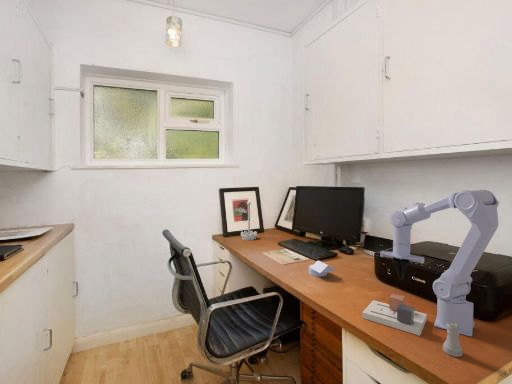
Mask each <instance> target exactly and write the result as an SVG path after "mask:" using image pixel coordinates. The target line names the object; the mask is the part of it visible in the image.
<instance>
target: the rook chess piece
mask: <svg viewBox="0 0 512 384" xmlns="http://www.w3.org/2000/svg"><path fill="white" fill-rule="evenodd" d="M446 327H447V328H448V330H446V333H447V334H446V335H447V336H446V340H445V341H444V342H443V344H442V351H444V353H445V354H447V355H448V356H451V357H454V358H460V357H462V356H463V354H464V353H463V348H462V346H461V344H460V339H459V336H460V335H461V334H460V333H458V332H459V330H460V329H461V328H460V327H459V324H458V323H455V324H454V322H453V321H452V323H450V321H448V323H447V324H446Z"/></svg>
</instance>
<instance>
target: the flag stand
mask: <svg viewBox="0 0 512 384" xmlns="http://www.w3.org/2000/svg"><path fill="white" fill-rule="evenodd" d="M246 203H247V204H246V205H247V230H244V231H241V232H240V236H241V239H242V240H244V241H255V240H256V239H257V236H258V231H253V230H251V223H250V222H251V204H252V203H251V202H250V201H247V202H246ZM254 239H255V240H254Z"/></svg>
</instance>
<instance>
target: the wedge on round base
mask: <svg viewBox="0 0 512 384" xmlns="http://www.w3.org/2000/svg"><path fill="white" fill-rule="evenodd" d="M330 272H331V273H332V272H336V269H334V268H333V267H332V266H330V265H329V264H327V263H324V262H322V261H320V260H316V262H315V263H313V264H310V265H308V274H309V275H311V276H313V277H326V276H327V275H328V273H330Z"/></svg>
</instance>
